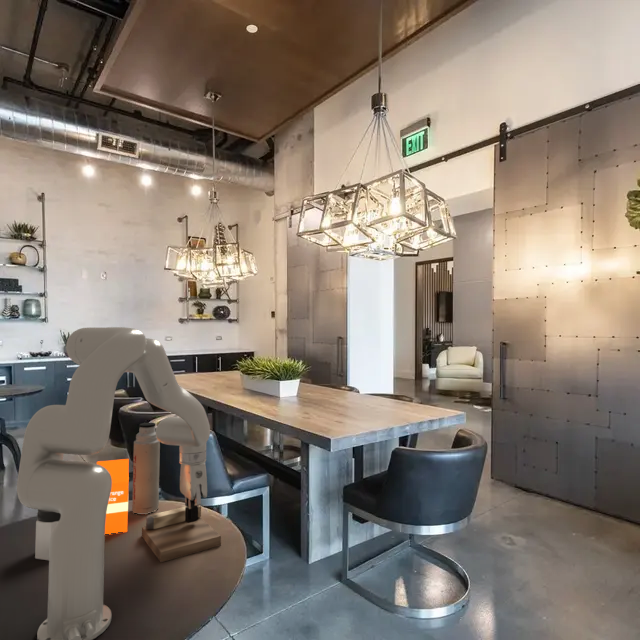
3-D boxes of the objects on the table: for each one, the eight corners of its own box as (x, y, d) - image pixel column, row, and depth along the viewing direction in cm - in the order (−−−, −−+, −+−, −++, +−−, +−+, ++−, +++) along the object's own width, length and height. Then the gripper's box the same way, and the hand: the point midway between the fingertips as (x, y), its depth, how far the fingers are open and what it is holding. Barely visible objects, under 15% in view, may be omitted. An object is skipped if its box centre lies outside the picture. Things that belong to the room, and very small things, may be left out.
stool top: (220, 545, 121) (220, 535, 121) (160, 562, 112) (161, 552, 112) (196, 522, 136) (196, 514, 136) (141, 536, 126) (142, 527, 126)
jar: (42, 547, 119) (43, 501, 120) (75, 543, 122) (77, 498, 122) (31, 563, 111) (32, 514, 111) (67, 558, 113) (69, 510, 114)
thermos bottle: (130, 516, 140) (133, 426, 141) (133, 506, 148) (135, 421, 149) (157, 513, 142) (159, 425, 143) (159, 504, 150) (160, 420, 151)
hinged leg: (148, 530, 123) (148, 519, 123) (144, 527, 126) (144, 516, 126) (200, 516, 133) (201, 506, 133) (196, 513, 135) (196, 503, 136)
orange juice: (95, 526, 133) (97, 458, 133) (127, 521, 136) (129, 455, 137) (93, 537, 125) (95, 465, 126) (127, 532, 129) (129, 462, 130)
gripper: (215, 460, 125) (214, 526, 124) (195, 449, 137) (194, 509, 136) (189, 464, 121) (188, 533, 120) (171, 453, 133) (170, 515, 132)
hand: (191, 520), depth 128 cm, fingers closed
